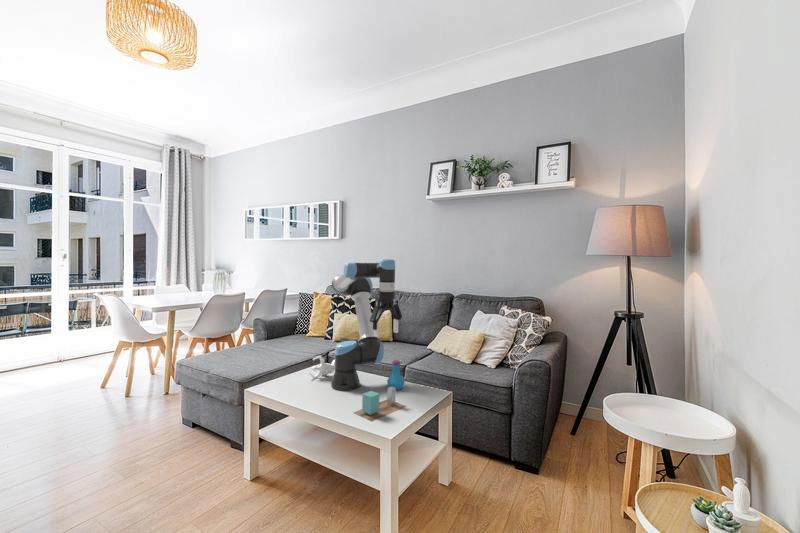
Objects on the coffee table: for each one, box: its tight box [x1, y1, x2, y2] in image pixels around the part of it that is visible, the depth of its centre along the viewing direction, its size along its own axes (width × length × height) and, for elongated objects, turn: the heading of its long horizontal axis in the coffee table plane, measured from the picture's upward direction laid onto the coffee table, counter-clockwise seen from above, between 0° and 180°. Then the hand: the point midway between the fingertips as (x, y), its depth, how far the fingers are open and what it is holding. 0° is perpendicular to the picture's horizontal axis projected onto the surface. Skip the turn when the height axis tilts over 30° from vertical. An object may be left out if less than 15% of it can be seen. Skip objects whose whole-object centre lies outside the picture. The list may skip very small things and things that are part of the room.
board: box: [353, 399, 407, 422], centre depth 163 cm, size 12×22×1 cm, turn 138°
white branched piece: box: [308, 355, 335, 379], centre depth 211 cm, size 13×13×18 cm
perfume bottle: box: [386, 359, 406, 391], centre depth 191 cm, size 9×9×15 cm
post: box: [386, 386, 397, 407], centre depth 168 cm, size 3×3×8 cm
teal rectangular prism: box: [361, 390, 380, 415], centre depth 159 cm, size 5×5×8 cm
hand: (386, 334), depth 178 cm, fingers open, 13 cm apart
